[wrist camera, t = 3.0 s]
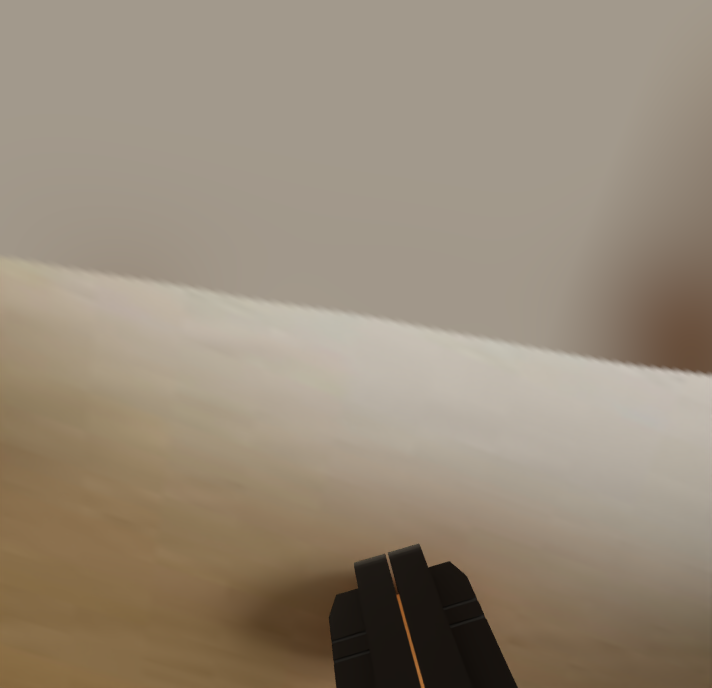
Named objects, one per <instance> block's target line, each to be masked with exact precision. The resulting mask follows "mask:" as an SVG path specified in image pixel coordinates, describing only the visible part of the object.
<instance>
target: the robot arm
mask: <svg viewBox="0 0 712 688" xmlns="http://www.w3.org/2000/svg"><path fill="white" fill-rule="evenodd" d="M388 555H389V559H390V563H391V566H392V570H393V574H394V577H395V581H396V585H397V589H398V592H399V596H400V600H401V603H402V607H403V611H404V614H405V618H406V622H407V625H408V629H409V633H410V636H411V640H412V644H413V647H414V651H415V654H416V658H417V662H418V665H419V669H420V673H421V676H422V680H423V683H424V687H425V688H518V687H517V685H516V683H515V681H514V679H513V677H512V674H511V672H510V670H509V668H508V666H507V663H506V661H505V659H504V657H503V655H502V652H501V650H500V648H499V646H498V644H497V641H496V639H495V637H494V635H493V633H492V630H491V628H490V626H489V624H488V622H487V619H486V618H485V616H484V613H483V611H482V609H481V606H480V604H479V602H478V601H477V598H476V595H475V593H474V591H473V589H472V587H471V584H470V582H469V580H468V578H467V576H466V575H465V574H464V573H462V572H461V571H460V570H459V569H458V568H457V567H456V566H454V565H453V564H452V563H451V562H450V561H449V562H445V563H442V564H439V565H435V566H432V567H429V568H428V566H427V563H426V561H425V558H424V555H423V552H422V550H421V547H420V545H419V544H416V545H412V546H409V547H406V548H402V549H399V550H395V551H392V552H388ZM354 568H355V574H356V579H357V584H358V589H355V590H351V591H348V592H345V593H341V594H338V595H336V597H335V600H334V604H333V607H332V610H331V613H330V616H329V623H330V632H331V641H332V651H333V660H334V670H335V679H336V688H421V684H420V681H419V677H418V673H417V670H416V666H415V662H414V659H413V655H412V651H411V647H410V644H409V640H408V636H407V633H406V629H405V625H404V622H403V618H402V614H401V610H400V607H399V603H398V599H397V596H396V592H395V588H394V585H393V581H392V577H391V574H390V570H389V566H388V563H387V559H386V555H385V554H382V555H379V556H375V557H372V558H369V559H365V560H362V561H358V562H355V563H354Z"/></svg>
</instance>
